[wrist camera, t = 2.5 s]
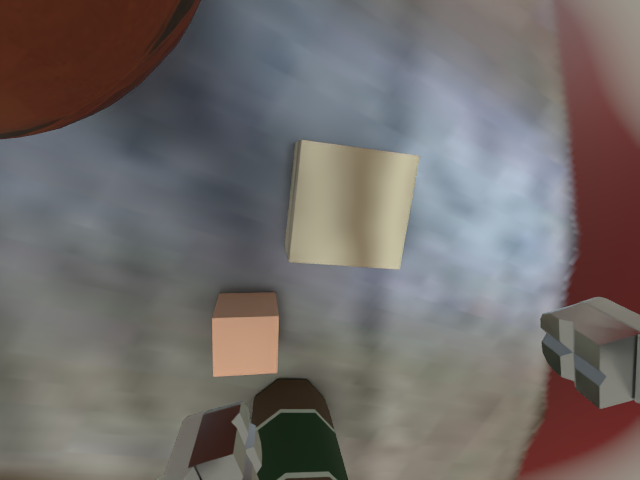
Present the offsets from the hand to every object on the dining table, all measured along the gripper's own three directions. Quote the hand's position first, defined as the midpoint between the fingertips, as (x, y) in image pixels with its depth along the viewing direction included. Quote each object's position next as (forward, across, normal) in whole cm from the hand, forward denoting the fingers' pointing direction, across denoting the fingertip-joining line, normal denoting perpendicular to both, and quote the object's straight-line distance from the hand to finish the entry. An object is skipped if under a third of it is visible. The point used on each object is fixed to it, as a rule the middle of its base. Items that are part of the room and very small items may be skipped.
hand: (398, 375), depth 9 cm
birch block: (+22, -2, 0) cm, 23 cm away
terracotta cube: (+21, +9, +8) cm, 24 cm away
